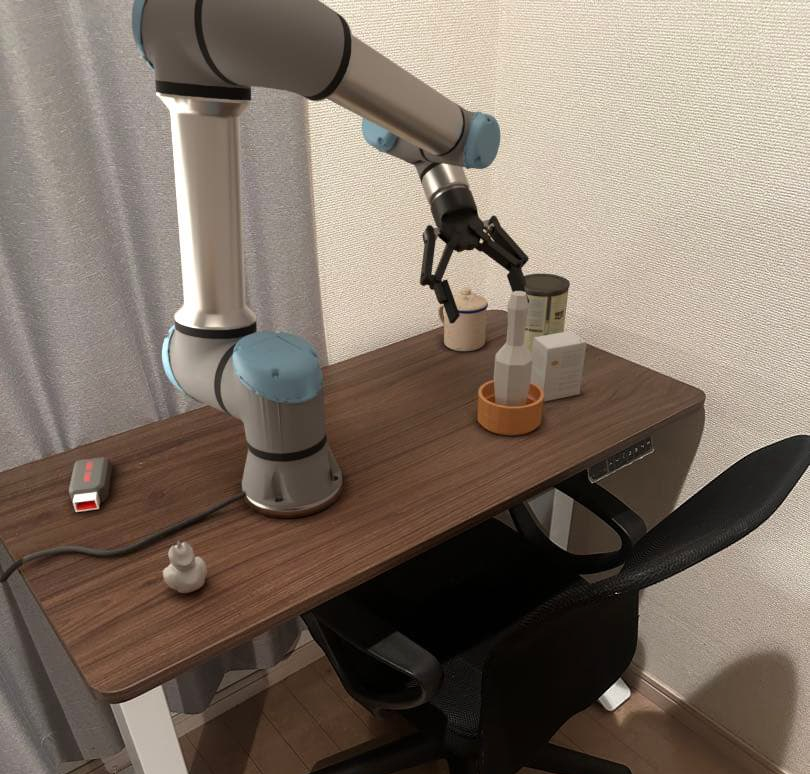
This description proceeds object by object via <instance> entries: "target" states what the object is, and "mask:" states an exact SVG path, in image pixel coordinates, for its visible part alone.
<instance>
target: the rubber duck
mask: <svg viewBox="0 0 810 774" xmlns="http://www.w3.org/2000/svg"><path fill="white" fill-rule="evenodd" d="M167 555H168V559H169V563H170V564H169V565H168V566H167V567H165V568H164V569H163V570H162V577H163V579H164V582H165V583H166V585H167V586H168V587H169V588H170V589H172V590H175V591H176V592H178V593H181V594H189V593H191V592H192V593H193V592H195V591H197V590H199V589H200V588H202V587H203V586H204V584H205V580H206V578H207V576H208V567H207V564H206V562H205V560H204V559H203V558H202V557H200V556H196V554H195V553H194V548H193V547H192V546H191V545H190V544H189V543H188V542H186V541H183V542H181V541H180V539H178V540H177V543H176V544H175V545H172V546H171V547H170V548H169V550H168V554H167Z"/></svg>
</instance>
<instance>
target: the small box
mask: <svg viewBox="0 0 810 774" xmlns="http://www.w3.org/2000/svg"><path fill="white" fill-rule="evenodd" d="M586 349H587V341H586V340H585V339H583V338H582V337H580V336H579V335H578V334H576V333H575V332H574V331H572V330H567V331H564V332H561V333H555V334H550V335H544V336H539V337H534V338H533V348H532V359H533V362H532V372H531V382H532V383H534V384H536V385H538V386H539V387H540V388H542V389H543V391H544V394H545V396H544V403H545V402H549V401H554V400H558V399H559V400H560V399H565V398H569V397H574V396H579V395H580V394H581V388H582V387H581V386H582V380H583V373H584V364H585V359H586V358H585V357H586Z"/></svg>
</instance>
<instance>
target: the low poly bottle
mask: <svg viewBox="0 0 810 774" xmlns="http://www.w3.org/2000/svg"><path fill="white" fill-rule="evenodd" d="M506 306H507V330H506V342H505V343H504V344H503V345H502V346H501V348H499V350H498V351H497V352H496V354H495V356H494V370H493V371H494V372H493V380H494V388H495V404H498V405H502V406H509V407H519V406H525V405H526V400H527V396H528V392H529V387H530V382H531V372H532V362H533V359H532V355H531V353H530V351H529V350H528V348H527V347H526V345H525V344H524V335H525V325H526V319H527V314H528V308H529V306H528V301H527V296H526V292H523V291H514V292H512V291H511V293H510V297H509V299H508V302H507V305H506Z"/></svg>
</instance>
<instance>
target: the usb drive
mask: <svg viewBox="0 0 810 774" xmlns="http://www.w3.org/2000/svg"><path fill="white" fill-rule="evenodd" d="M112 472H113V466H112V463H111V460H110V458H108V457H105V456H101V457H94V458H92V457H91V458H85V459H78V460H76V462H74V465H73V468H72V473H71V478H70V482H69V487H68V494H69V497H70V500H71V502H72V505H73V507H74V511H75V512H76V513H79V512H87V511H94V510H95V511H96V510H100V505H101V503H104V502H105V501H106V500H107V499H108V498H109V492H110V485H111V480H112V479H111V478H112Z"/></svg>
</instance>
